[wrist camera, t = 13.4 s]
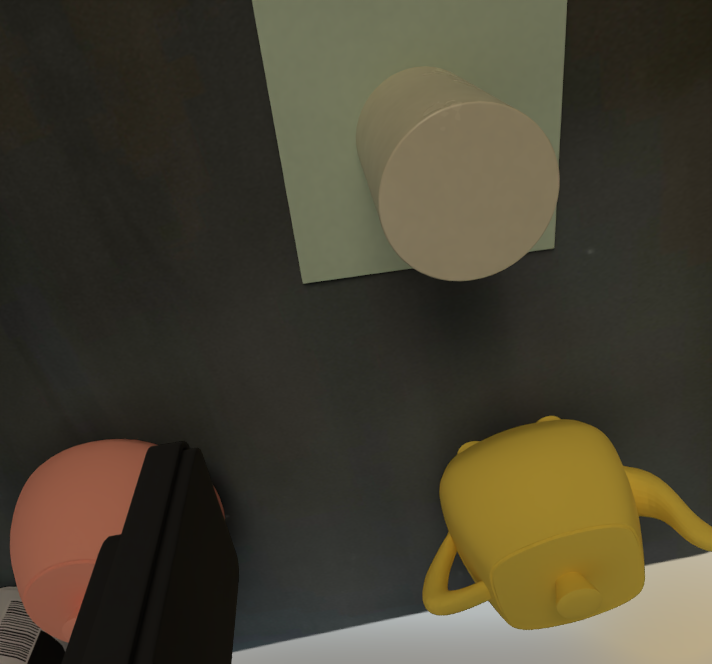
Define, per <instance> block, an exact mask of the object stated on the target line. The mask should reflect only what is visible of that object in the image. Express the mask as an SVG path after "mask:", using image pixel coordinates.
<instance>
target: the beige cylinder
mask: <svg viewBox="0 0 712 664" xmlns="http://www.w3.org/2000/svg"><path fill="white" fill-rule="evenodd" d="M356 147H357V153H358V157H359V160H360V163H361V166H362V169H363V172H364V175H365V178H366V181H367V184H368V187H369V190H370V193H371V196H372V199H373V202H374V205H375V208H376V211H377V214H378V217H379V220H380V223H381V226H382V229H383V231H384V234H385V236H386V238H387V240H388V242H389V244H390V245H391V247H392V248H393V250H394V251H395V252H396V253H397V255H398V256H399V257H400V258H401V259H402V260H403V261H404V262H406V263H407V264H408V265H409V266H411V267H412V268H414V269H415V270H417V271H419V272H421V273H423V274H425V275H427V276H430V277H434V278H437V279H442V280H448V281H470V280H476V279H481V278H484V277H487V276H490V275H493V274H496V273H498V272H500V271H502V270H504V269H506V268H508V267H509V266H511V265H513V264H514V263H515V262H517V261H518V260H519V259H521V258H522V257H523V256H524V255H525V254H526V253H528V252H529V251H530V250H531V249H532V248H533V246H534V245H535V244H536V243H537V242H538V241H539V239H540V238H541V236H542V235H543V233H544V232H545V230H546V228H547V227H548V225H549V223H550V221H551V219H552V216H553V213H554V211H555V208H556V204H557V200H558V194H559V185H560V183H559V168H558V161H557V158H556V155H555V151H554V149H553V147H552V145H551V143H550V140H549V139H548V137H547V136H546V134H545V133H544V131H543V130H542V129H541V128H540V127H539V126H538V125H537V124H536V122H534V121H533V120H532V119H531V118H529V117H528V116H527V115H526V114H524V113H522V112H520V111H519V110H517V109H515V108H513V107H512V106H510V105H508V104H506V103H505V102H503V101H501V100H499V99H497V98H496V97H494V96H492V95H490V94H489V93H487V92H485V91H483V90H482V89H480V88H478V87H476V86H475V85H473V84H471V83H469V82H468V81H466V80H464V79H462V78H460V77H459V76H457V75H455V74H453V73H452V72H449V71H447V70H444V69H441V68H437V67H429V66H421V67H413V68H408V69H405V70H403V71H400V72H398V73H396V74H394V75H392V76H390V77H389V78H387V79H386V80H384V81H383V82H382V83H381V84H380V85H379V86H378V87H377V88H376V89H375V90H374V91H373V92H372V93H371V95H370V96H369V98H368V99H367V101H366V102H365V104H364V106H363V108H362V110H361V113H360V116H359V119H358V123H357V128H356Z"/></svg>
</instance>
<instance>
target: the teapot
mask: <svg viewBox="0 0 712 664" xmlns="http://www.w3.org/2000/svg"><path fill="white" fill-rule="evenodd" d="M439 496H440V502H441V507H442V511H443V515H444V519H445V522H446V525H447V528H448V531H449V532H448V534H447V536H446V538H445V539H444V541H443V543H442V544H441V546H440V548H439V550H438V552H437V554H436V555H435V557H434V559H433V561H432V563H431V565H430V567H429V569H428V572H427V574H426V577H425V581H424V585H423V593H422V596H423V603H424V605H425V608H426V609H427V610H428V611H429V612H430V613H432V614H435V615H450V614H455V613H458V612H461V611H464V610H467V609H470V608H472V607H474V606H477V605H479V604H481V603H484V602H486V601H489V602H490V603H491V605H492V606H493V607H494V608H495V610H496V611H497V612H498V613H499V614H500V616H501V617H502V618H503V619H504V620H505V621H506V622H507V623H508V624H509V625H511V626H512V627H514V628H517V629H523V630H533V629H542V628H549V627H554V626H559V625H564V624H568V623H572V622H576V621H580V620H583V619H586V618H589V617H592V616H595V615H598V614H600V613H603V612H606V611H608V610H611V609H613V608H616V607H618V606H620V605H622V604H624V603H626V602H628V601H630V600H631V599H633V598H634V597H636V596H637V595H638V594H639V593H640V592H641V590H642V589H643V586H644V581H645V567H644V553H643V545H642V537H641V529H640V522H639V516H645V517H653V518H656V519H659V520H662V521H664V522H666V523H667V524H668V525H670V526H671V527H672V528H673V529H675V530H676V531H677V532H678V533H679V534H680V535H681V536H682V537H683V538H685V539H686V540H687V541H689V542H690V543H691V544H693V545H695V546H697V547H699V548H702V549H704V550H707V551H711V552H712V527H711V526H710V525H708V524H707V523H705V522H704V521H702V520H701V519H700V518H699V517H698V516H697V515H696V514H695V513H693V512H692V511H691V509H690V508H689V507H688V506H687V505H686V504H685V503H684V502H683V501H682V499H681V498H680V497H679V496H678V495H677V494H676V493H675V492H674V491H673V490H672V489H671V488H670V487H669V486H668V485H667V484H666V483H665V482H663V481H662V480H661V479H660V478H658V477H657V476H655V475H653V474H651V473H650V472H647V471H644V470H641V469H638V468H632V467H626V466H623V465H622V463H621V460H620V458H619V456H618V454H617V452H616V450H615V448H614V446H613V445H612V443H611V441H610V440H609V439H608V437H607V436H606V435H605V434H604V433H603V432H602V431H600V430H599V429H597V428H595V427H593V426H591V425H589V424H586V423H583V422H580V421H576V420H568V419H560V418H558V417H555V416H547V417H544V418H542V419H540V420H538V421H537V422H536V423H532V424H527V425H523V426H518V427H515V428H512V429H508V430H505V431H503V432H500V433H497V434H495V435H493V436H491V437H488V438H486V439H484V440H482V441H471V442H468V443H465V444H464V445H463V446H461V447H460V449H459V450H458V453H457V455H456V456H455V457H454V458H453V459H452V460H451V461H450V462H449V464H448V465H447V467H446V469H445V471H444V473H443V476H442V478H441V481H440V488H439ZM456 552H458V554H459V556H460V558H461V560H462V562H463V564H464V565H465V567H466V569H467V570H468V572H469V573H470V575H471V577H472V578H473V580H474V582H475V584H473V585H470V586H468V587H465V588H462V589H459V590H454V591H449V590H448V578H449V573H450V569H451V566H452V563H453V560H454V558H455V555H456Z"/></svg>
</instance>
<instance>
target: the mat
mask: <svg viewBox="0 0 712 664" xmlns="http://www.w3.org/2000/svg"><path fill="white" fill-rule="evenodd" d="M252 3H253V9H254V15H255V20H256V26H257V31H258V37H259V42H260V48H261V53H262V59H263V65H264V70H265V76H266V81H267V87H268V92H269V98H270V104H271V109H272V115H273V120H274V126H275V131H276V137H277V142H278V148H279V154H280V159H281V165H282V170H283V176H284V181H285V187H286V192H287V198H288V204H289V209H290V215H291V220H292V226H293V231H294V237H295V242H296V248H297V254H298V259H299V265H300V270H301V276H302V281H303V284H305V283H312V282H319V281H326V280H333V279H340V278H347V277H354V276H361V275H368V274H375V273H383V272H390V271H397V270H404V269H411V268H412V267H411V266H409V265H408V264H407V263H406V262H404V261H403V260H402V259H401V258H400V257H399V256H398V255H397V253H396V252H395V251H394V250H393V248H392V247H391V245H390V244H389V242H388V240H387V238H386V236H385V234H384V231H383V229H382V226H381V223H380V220H379V217H378V214H377V211H376V208H375V205H374V202H373V199H372V196H371V193H370V190H369V187H368V184H367V181H366V178H365V175H364V172H363V169H362V166H361V163H360V160H359V157H358V153H357V147H356V128H357V123H358V119H359V116H360V113H361V110H362V108H363V106H364V104H365V102H366V101H367V99H368V98H369V96H370V95H371V93H372V92H373V91H374V90H375V89H376V88H377V87H378V86H379V85H380V84H381V83H382V82H383V81H384V80H386V79H387V78H389V77H390V76H392V75H394V74H396V73H398V72H400V71H403V70H405V69H408V68H413V67H421V66H429V67H437V68H441V69H444V70H447V71H449V72H452V73H453V74H455V75H457V76H459V77H460V78H462V79H464V80H466V81H468V82H469V83H471V84H473V85H475V86H476V87H478V88H480V89H482V90H483V91H485V92H487V93H489V94H490V95H492V96H494V97H496V98H497V99H499V100H501V101H503V102H505V103H506V104H508V105H510V106H512V107H513V108H515V109H517V110H519V111H520V112H522V113H524V114H526V115H527V116H528V117H529V118H531V119H532V120H533V121H534V122H536V124H537V125H538V126H539V127H540V128H541V129H542V130H543V131H544V133H545V134H546V136H547V137H548V139H549V140H550V143H551V145H552V147H553V149H554V151H555V155H556V158H557V161H558V166H559V147H560V128H561V109H562V90H563V71H564V52H565V32H566V13H567V0H252ZM555 223H556V208H555V211H554V213H553V216H552V219H551V221H550V223H549V225H548V227H547V228H546V230H545V232H544V233H543V235H542V236H541V238H540V239H539V241H538V242H537V243H536V244H535V245H534V246H533V248H532V249H531V250H530V251H529V252H531V251H538V250H545V249H552V248H554V242H555Z"/></svg>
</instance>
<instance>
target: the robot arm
mask: <svg viewBox="0 0 712 664" xmlns="http://www.w3.org/2000/svg"><path fill="white" fill-rule="evenodd" d="M238 582H239V566H238V559H237V555H236V551H235V548H234V546H233V543H232V540H231V537H230V534H229V531H228V528H227V525H226V522H225V519H224V516H223V513H222V510H221V507H220V504H219V502H218V499H217V496H216V493H215V490H214V487H213V484H212V481H211V478H210V475H209V472H208V469H207V466H206V463H205V460H204V458H203V455H202V452H201V450H200V449H199V448H194V449H190V448H189V445H188V444H187V443H186V442H185V441H181V442H175V443H168V444H162V445H156V446H151V447H149V448H148V450H147V452H146V455H145V459H144V462H143V465H142V468H141V472H140V475H139V478H138V481H137V484H136V488H135V491H134V494H133V497H132V501H131V504H130V507H129V510H128V514H127V517H126V520H125V523H124V527H123V530H122V533H121V534H119V535H113V536H109V537H108V538H107V539H106V540H105V541H104V542H103V544H102V546H101V548H100V551H99V554H98V557H97V560H96V562H95V565H94V568H93V571H92V574H91V577H90V580H89V583H88V586H87V589H86V592H85V595H84V598H83V601H82V604H81V607H80V610H79V613H78V616H77V619H76V622H75V625H74V628H73V631H72V634H71V637H70V640H69V643H68V645H67V648H66V651H65V654H64V657H63V660H62V663H61V664H231V660H232V650H233V638H234V627H235V616H236V604H237V593H238Z"/></svg>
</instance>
